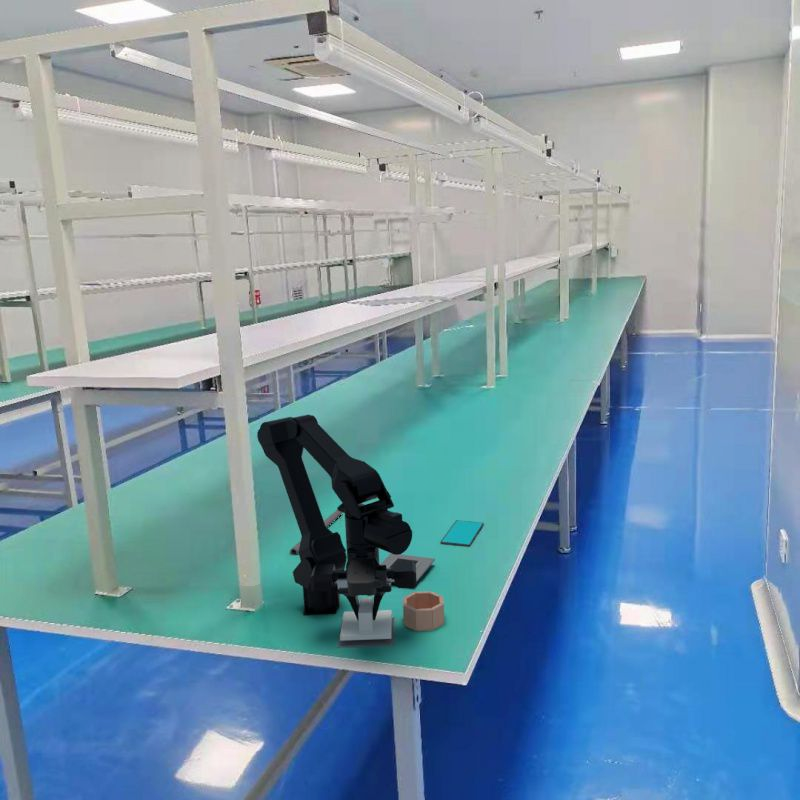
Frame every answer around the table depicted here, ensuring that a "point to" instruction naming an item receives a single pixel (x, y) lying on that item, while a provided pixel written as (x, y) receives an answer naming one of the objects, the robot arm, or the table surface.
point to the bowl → (423, 611)
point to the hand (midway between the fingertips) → (366, 619)
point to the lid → (366, 623)
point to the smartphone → (462, 533)
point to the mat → (368, 642)
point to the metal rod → (327, 523)
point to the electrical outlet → (420, 562)
